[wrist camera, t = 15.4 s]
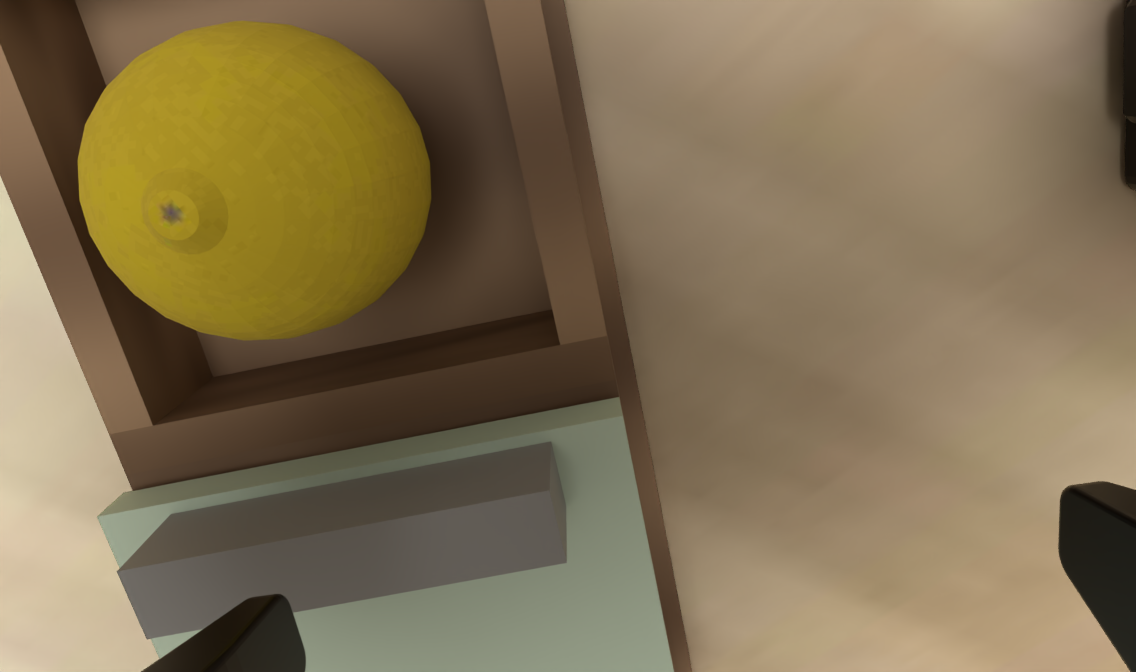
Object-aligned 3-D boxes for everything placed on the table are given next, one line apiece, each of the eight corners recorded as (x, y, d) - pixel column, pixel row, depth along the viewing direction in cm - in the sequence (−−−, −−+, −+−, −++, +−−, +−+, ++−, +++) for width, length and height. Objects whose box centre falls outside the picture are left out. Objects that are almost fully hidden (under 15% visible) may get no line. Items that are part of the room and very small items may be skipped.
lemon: (497, 118, 18) (447, 134, 10) (392, 319, 19) (279, 469, 11) (274, -11, 17) (34, -101, 9) (181, 210, 18) (-93, 292, 11)
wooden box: (13, -51, 17) (-141, -92, 14) (529, -173, 17) (520, -251, 13) (315, 740, 24) (268, 860, 20) (692, 675, 24) (717, 787, 20)
